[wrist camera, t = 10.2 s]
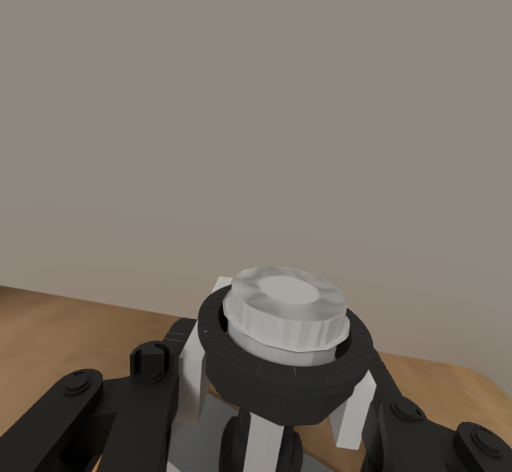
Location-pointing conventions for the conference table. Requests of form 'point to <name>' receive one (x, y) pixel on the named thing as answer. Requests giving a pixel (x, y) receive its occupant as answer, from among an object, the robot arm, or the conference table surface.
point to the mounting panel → (209, 442)
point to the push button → (279, 361)
